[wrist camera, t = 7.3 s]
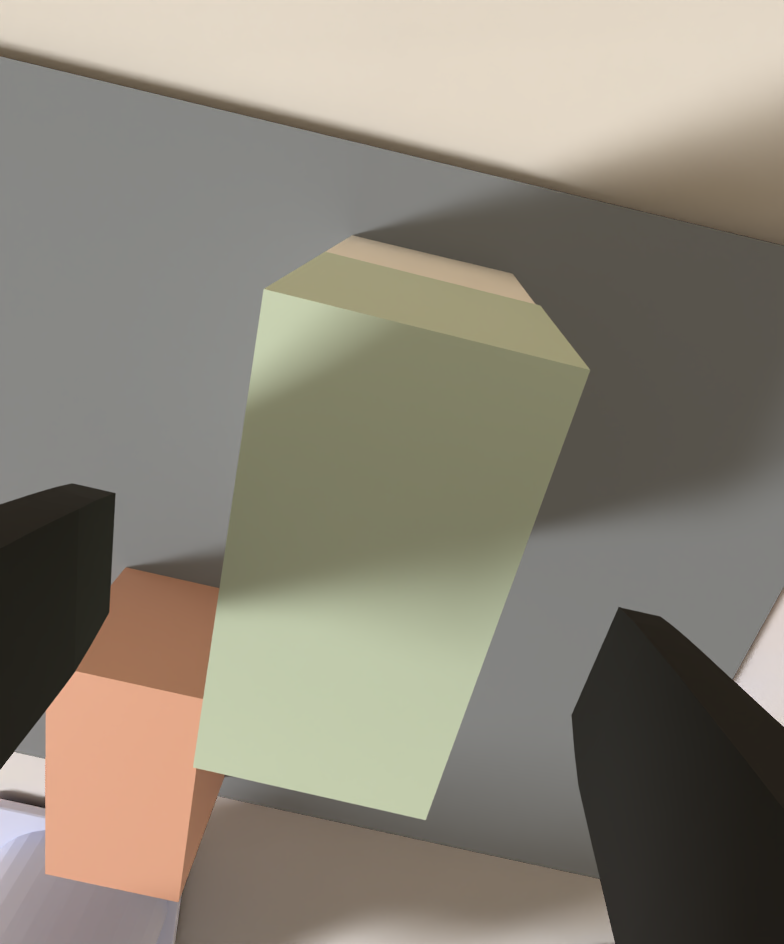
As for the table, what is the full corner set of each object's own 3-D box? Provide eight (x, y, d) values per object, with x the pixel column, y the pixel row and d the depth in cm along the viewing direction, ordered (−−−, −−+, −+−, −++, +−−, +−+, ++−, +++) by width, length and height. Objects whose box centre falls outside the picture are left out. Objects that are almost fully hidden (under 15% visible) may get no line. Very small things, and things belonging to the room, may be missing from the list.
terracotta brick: (224, 777, 24) (178, 902, 20) (114, 753, 24) (45, 874, 20) (253, 596, 21) (205, 699, 16) (125, 566, 20) (45, 664, 16)
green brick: (430, 648, 15) (425, 819, 11) (260, 608, 15) (192, 767, 11) (540, 305, 12) (590, 370, 8) (325, 251, 12) (264, 288, 8)
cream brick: (433, 549, 19) (431, 649, 15) (299, 519, 19) (261, 610, 15) (512, 273, 16) (536, 305, 12) (352, 235, 16) (320, 254, 12)
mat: (616, 870, 25) (619, 882, 25) (-15, 733, 24) (-24, 743, 24) (936, 282, 16) (950, 285, 16) (-48, 45, 15) (-63, 40, 15)
